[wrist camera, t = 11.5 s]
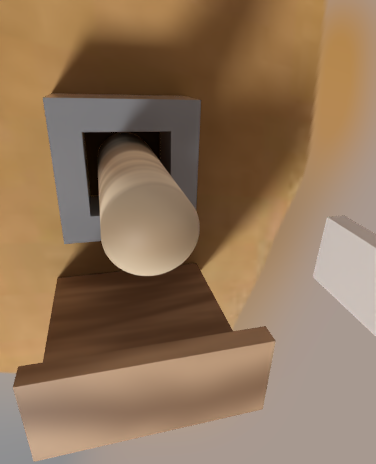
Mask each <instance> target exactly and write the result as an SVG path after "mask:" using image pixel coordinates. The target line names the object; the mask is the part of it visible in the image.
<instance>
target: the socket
mask: <svg viewBox="0 0 376 464" xmlns="http://www.w3.org/2000/svg"><path fill="white" fill-rule="evenodd" d="M43 102H44V109H45V116H46V122H47V129H48V136H49V143H50V150H51V156H52V163H53V170H54V177H55V184H56V190H57V197H58V204H59V211H60V218H61V224H62V231H63V238H64V244H71V243H82V242H94V241H101V229H100V207H99V195H96V196H91V192H90V182H89V172H88V162H87V152H86V142H85V132H156V131H160V162H161V163H162V165H163V166H164V167H165V169H166V170H167V171H168V173H169V174H170V175H171V177H172V178H173V179H174V181H175V182H176V183H177V185H178V186H179V187H180V189H181V190H182V191H183V193H184V194H185V195H186V197H187V198H188V199H189V201H190V202H191V203H192V205H193V206H194V208H195V210H196V203H197V180H198V157H199V134H200V112H201V100H199V99H195V98H191V97H187V96H167V95H113V94H58V93H51V94H49V95H47V96H45V97H43Z"/></svg>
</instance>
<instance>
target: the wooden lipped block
mask: <svg viewBox="0 0 376 464" xmlns="http://www.w3.org/2000/svg"><path fill="white" fill-rule="evenodd" d="M274 347H275V339H274V338H273V337H272V335H271V334H270V332H269V331H268V329H267V328H266V326H264V327H258V328H252V329H245V330H240V331H233V330H232V329H231V327H230V325H229V323H228V321H227V319H226V317H225V316H224V314H223V312H222V310H221V308H220V306H219V304H218V303H217V301H216V299H215V297H214V295H213V293H212V291H211V290H210V288H209V286H208V284H207V282H206V280H205V278H204V277H203V275H202V273H201V271H200V269H199V267H198V265H197V264H196V263H193V264H183V265H179V266H178V267H176V268H174V269H173V270H171V271H168V272H166V273H163V274H159V275H154V276H140V275H134V274H131V273H128V272H126V271H118V272H109V273H100V274H90V275H81V276H72V277H63V278H58V279H57V284H56V290H55V296H54V302H53V307H52V313H51V319H50V324H49V330H48V336H47V342H46V347H45V353H44V359H43V363H38V364H31V365H25V366H19V367H18V370H17V374H16V377H15V382H14V385H13V389H14V393H15V397H16V400H17V404H18V407H19V411H20V414H21V418H22V421H23V425H24V429H25V432H26V435H27V439H28V443H29V446H30V450H31V453H32V457H33V460H34V461H39V460H43V459H48V458H52V457H57V456H60V455H65V454H69V453H74V452H78V451H83V450H87V449H91V448H96V447H100V446H104V445H109V444H113V443H118V442H122V441H126V440H130V439H135V438H139V437H143V436H148V435H152V434H156V433H161V432H166V431H170V430H174V429H179V428H183V427H187V426H192V425H196V424H200V423H205V422H209V421H214V420H218V419H222V418H227V417H231V416H235V415H240V414H244V413H248V412H253V411H257V410H261V409H263V405H264V399H265V394H266V389H267V384H268V378H269V373H270V368H271V362H272V357H273V352H274Z"/></svg>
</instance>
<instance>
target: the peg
mask: <svg viewBox="0 0 376 464" xmlns="http://www.w3.org/2000/svg"><path fill="white" fill-rule="evenodd" d="M97 162H98V185H99V207H100V229H101V242H102V246H103V249H104V251H105V253H106V255H107V256H108V258H109V259H110V260H111V261H112V262H113V263H114V264H115V265H116V266H117V267H118V268H120V269H122V270H123V271H126V272H128V273H131V274H134V275H140V276H154V275H159V274H163V273H166V272H168V271H171V270H173V269H174V268H176V267H178V266H179V265H181V264H182V263H183V262H184V261H185V260H186V259H187V258H188V257H189V256H190V254H191V253H192V252H193V250H194V248H195V246H196V244H197V241H198V237H199V232H200V223H199V218H198V215H197V212H196V210H195V208H194V206H193V205H192V203H191V202H190V201H189V199H188V198H187V197H186V195H185V194H184V193H183V191H182V190H181V189H180V187H179V186H178V185H177V183H176V182H175V181H174V179H173V178H172V177H171V175H170V174H169V173H168V171H167V170H166V169H165V167H164V166H163V165H162V163H161V162H160V161H159V159H158V158H157V157H156V155H155V154H154V153H153V151H152V150H151V149H150V147H149V146H148V145H147V143H146V142H145V141H144V140H143V139H142V138H140V137H139V136H137V135H135V134H132V133H128V132H121V133H116V134H113V135H111V136H110V137H108V138H107V139H106V140H105V141H104V142H103V143H102V145H101V146H100V148H99V151H98V156H97Z"/></svg>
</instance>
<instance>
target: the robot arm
mask: <svg viewBox="0 0 376 464" xmlns="http://www.w3.org/2000/svg"><path fill="white" fill-rule="evenodd" d="M313 278H314V279H315V280H317V281H318V282H319V283H320V284H321V285H322V286H323V287H324V288H325V289H326V290H327V291H328V292H329V293H331V295H333V296H334V297H335V298H336V299H337V300H338V301H339V302H340V303H341V304H342V305H343V306H344V307H345V308H346V309H347V310H348V311H349V312H350V313H351V314H353V315H354V316H355V317H356V318H357V319H358V320H359V321H360V322H361V323H362V324H363V325H364V326H365V327H366V328H367V329H368V330H369V331H370V332H372V333H373V334H374V335H375V336H376V234H375V233H373V232H371V231H369V230H368V229H366V228H364V227H363V226H361V225H359V224H357V223H356V222H354V221H353V220H351V219H349V218H347V217H346V216H334V217H327V220H326V225H325V229H324V233H323V237H322V241H321V245H320V249H319V253H318V257H317V262H316V266H315V270H314V274H313Z"/></svg>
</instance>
